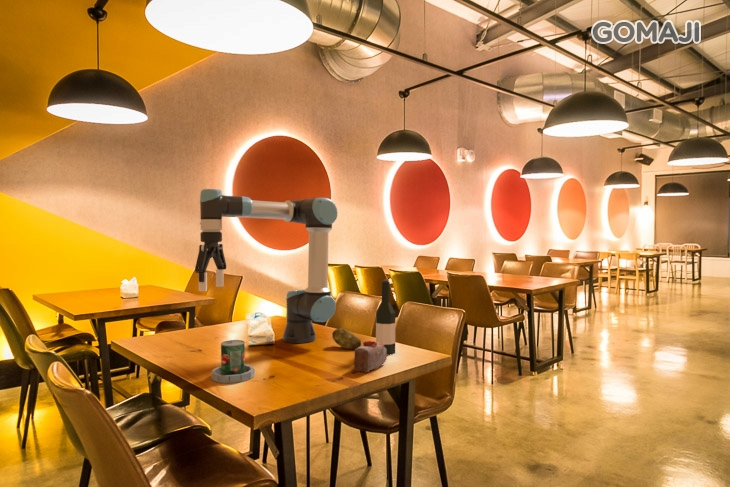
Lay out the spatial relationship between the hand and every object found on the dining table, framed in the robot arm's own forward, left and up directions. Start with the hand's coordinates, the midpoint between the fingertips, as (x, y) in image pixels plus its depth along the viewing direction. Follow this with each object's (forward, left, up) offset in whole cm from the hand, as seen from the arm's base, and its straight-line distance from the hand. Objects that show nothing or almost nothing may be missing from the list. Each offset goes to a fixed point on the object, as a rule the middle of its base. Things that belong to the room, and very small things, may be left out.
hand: (211, 288), depth 171 cm
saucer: (-6, +16, -29) cm, 33 cm away
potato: (-55, -8, -29) cm, 63 cm away
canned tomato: (-6, +16, -28) cm, 33 cm away
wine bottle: (-68, +5, -29) cm, 74 cm away
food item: (-54, +23, -29) cm, 65 cm away
